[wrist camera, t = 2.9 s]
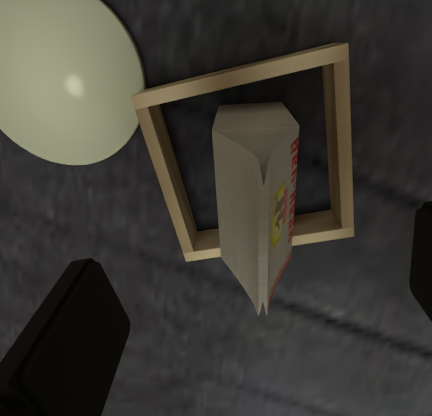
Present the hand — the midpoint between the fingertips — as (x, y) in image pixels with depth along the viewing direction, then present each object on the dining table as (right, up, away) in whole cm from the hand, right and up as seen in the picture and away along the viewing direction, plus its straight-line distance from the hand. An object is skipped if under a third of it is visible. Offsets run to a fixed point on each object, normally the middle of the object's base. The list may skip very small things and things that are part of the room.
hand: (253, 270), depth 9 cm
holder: (+1, +5, +11) cm, 12 cm away
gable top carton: (+1, +5, +11) cm, 12 cm away
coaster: (-10, +9, +9) cm, 17 cm away
